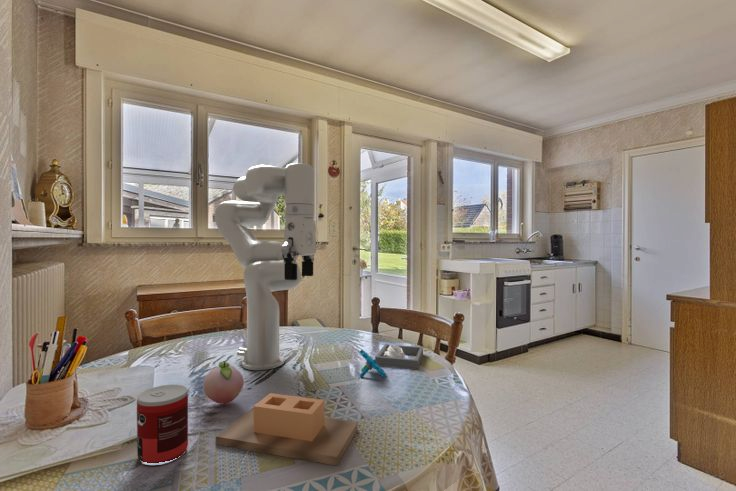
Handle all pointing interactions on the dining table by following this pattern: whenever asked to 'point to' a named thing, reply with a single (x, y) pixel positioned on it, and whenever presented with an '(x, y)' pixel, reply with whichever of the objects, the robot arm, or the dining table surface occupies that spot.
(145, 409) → the canned food
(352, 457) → the dining table surface
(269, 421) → the block with square holes
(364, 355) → the gear
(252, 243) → the robot arm
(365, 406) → the dining table surface
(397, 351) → the whipped cream
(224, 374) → the decorative fruit
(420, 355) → the frame
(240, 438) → the locating board
